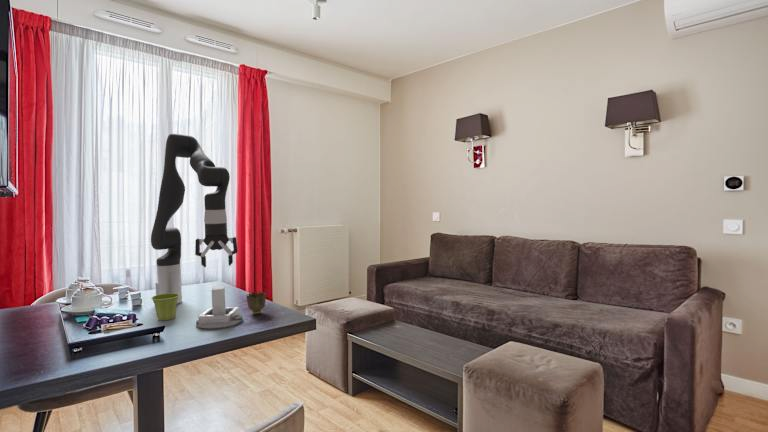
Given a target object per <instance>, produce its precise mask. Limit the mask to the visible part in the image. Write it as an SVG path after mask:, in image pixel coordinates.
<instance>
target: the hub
mask: <svg viewBox="0 0 768 432" xmlns="http://www.w3.org/2000/svg"><path fill="white" fill-rule="evenodd" d="M225 307H226V306H225ZM243 320H244V319H243V315H241V314H240V307H239V306H233V307H232V306H231V307H229V306H227V307H226V315H213V310H212V307H209V308H208V309H207V310H205V311H204V312H202V313H201V314H200V315H199V316H198V320H196V321H195V327H196V329H198V330H205V331H216V330H223V329H229V328H232V327H236V326H238V325H240V324H241V323H242V322H243Z"/></svg>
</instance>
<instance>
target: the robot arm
mask: <svg viewBox="0 0 768 432" xmlns="http://www.w3.org/2000/svg"><path fill="white" fill-rule="evenodd" d="M165 141H166V142H165V150H164V162H163V163H164V164H163V165H164V167H163V173H162V179H161V182H160V183H161V184H160V190H159V196H158V202H157V203H158V204H157V211H156V215H155V217H154V223H153V226H152V230H151V235H150V243H151V247H152V249H154V250H156V251H161V250H167V251H166V252H165V254H162V255H161V256H159V257H158V258H157V259H156V277H157V278H156V279H157V282H155V296H156V295H160V294H167V293H177V294H179V296H178V300H177V304H180V303H182V302H183V293H182V273H181V270H182V269H181V257H182V236H181V232H180V229H179V228H177V227H175V226H174V227H167V226H168V223H169V221H170V220H171V219H172V217H173V216H174V215H175V214H176V212H178V211H179V210H180V208H181V206H182V205H183V202H184V199H185V194H186V193H185V192H186V185H185V183H184V181H183V179H182V178H181V175H180V174H179V171H178V169H177V165H176V162H177V161H176V159H177V158H186V159H189V165H190V167H191V168H192V170H193V171H194V172H195V173H196V175H197V181H198V183H199V184H200V185H201V186H204V187H216V190H215V191H214V192H208V193H206V194H205V195H204V198H203V199H204V217H203V218H204V219H203V220H204V221H203V222H204V238H196V239H195V247H194V248H195V250H194V252H195V253H194V254H195V256H196V257H200V260H201V261H200V263H201V266H203V268H206V267H207V257H206V254H208V251H209V250H211V251H215V250H219V251H221V250H224V251H225V252H226V253H227V254H228V260H227V261H228V266H232V265H233V263H234V261H233V260H234V257H233V255H235V254H237V253H238V251H239V250H238V243H237V242H238V241H237V237H236V236H232V237H229V236H228V225H227V224H228V219H227V216H228V215H227V211H226V195H227V191H228V187H229V184H230V180H231V179H230V177H231V176H230V173H229V171H228V169H227V168H225V167H219V166H216V165H215V163H214V162H213V160H211V159H210V158H209V156H207V155H206V154H205V152H204V151H203V148H202V146H201V145H200V143H199V142H198V140H197V139H196V138H195V137H194V136H193V135H187V134H181V133H169V134H168V135H167V138H166V140H165ZM229 241H230V243H231V244H232V247H233V250H231V248H229V246H228V243H229ZM203 243H204V244H205V245H206V247H205V249H204V250H203V252H201V245H202V244H203Z"/></svg>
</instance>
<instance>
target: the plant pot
mask: <svg viewBox="0 0 768 432" xmlns="http://www.w3.org/2000/svg"><path fill="white" fill-rule="evenodd" d="M178 296H179V294H177V293H167V294H160V295H156V294H155V295H153V296H152V297H151V300H152V301H153V303H154V308H155V314H156V318H158V319H159V320H158V319H157V320H158V321H162V320H163V321H169V320H172V319H174V318H176V314H177V313H176V312H177V300H178Z"/></svg>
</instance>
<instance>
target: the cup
mask: <svg viewBox="0 0 768 432" xmlns="http://www.w3.org/2000/svg"><path fill="white" fill-rule="evenodd" d="M266 295H267V293H266V292H263V291H260V292H258V291H256V292H249V293H248V294H246V295H245V296H246V302H247V307H248V309H249V310H250V311H251V314H252V315H254V316H257V315H261V314H262V312H263V311H262V310H264V308H265V306H266V297H267V296H266Z"/></svg>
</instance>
